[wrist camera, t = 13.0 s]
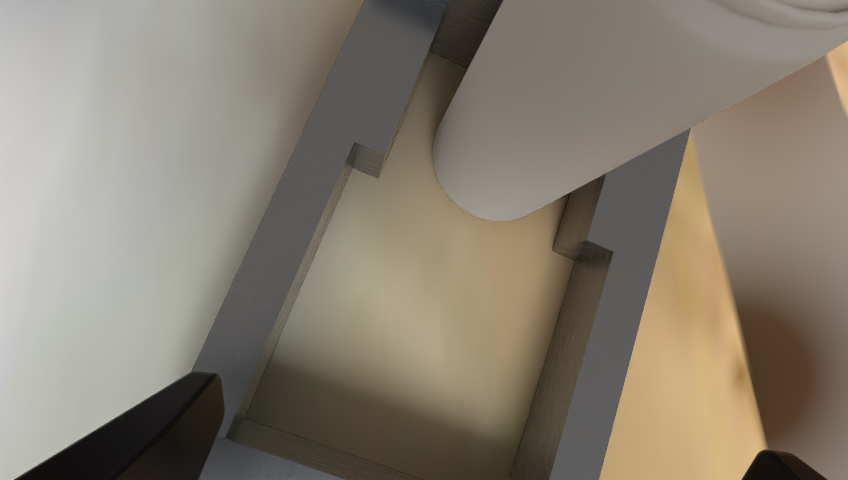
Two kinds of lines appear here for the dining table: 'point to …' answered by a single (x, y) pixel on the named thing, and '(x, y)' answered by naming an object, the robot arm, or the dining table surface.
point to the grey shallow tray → (367, 151)
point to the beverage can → (608, 87)
